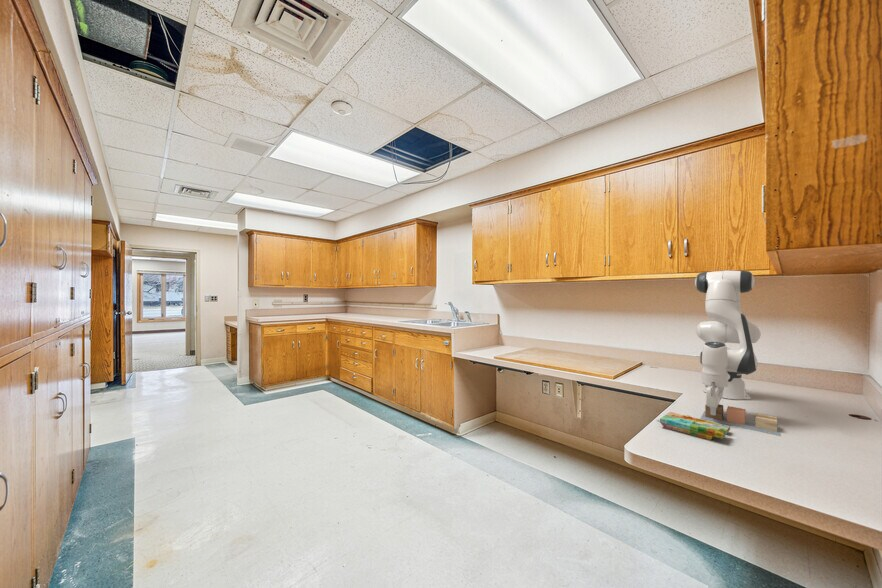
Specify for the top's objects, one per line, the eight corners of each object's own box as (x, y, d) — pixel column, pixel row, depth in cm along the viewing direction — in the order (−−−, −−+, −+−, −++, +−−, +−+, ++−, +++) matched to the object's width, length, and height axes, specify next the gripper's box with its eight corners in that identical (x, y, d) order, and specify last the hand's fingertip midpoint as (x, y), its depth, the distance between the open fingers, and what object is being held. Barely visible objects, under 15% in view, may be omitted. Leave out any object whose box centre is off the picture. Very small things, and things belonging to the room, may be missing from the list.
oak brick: (756, 423, 138) (756, 413, 138) (776, 427, 133) (776, 417, 133) (755, 427, 133) (755, 417, 133) (776, 431, 129) (777, 421, 129)
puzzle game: (669, 410, 144) (730, 424, 128) (669, 421, 144) (730, 436, 129) (659, 416, 136) (723, 432, 121) (659, 428, 136) (723, 445, 121)
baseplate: (704, 413, 151) (704, 411, 151) (780, 429, 135) (780, 426, 135) (699, 421, 142) (699, 419, 142) (780, 439, 125) (780, 436, 125)
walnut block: (707, 413, 149) (707, 402, 148) (723, 416, 145) (723, 405, 145) (705, 416, 145) (705, 405, 145) (721, 420, 141) (722, 408, 141)
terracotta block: (727, 417, 144) (727, 405, 144) (745, 421, 140) (745, 409, 140) (726, 421, 140) (726, 409, 140) (744, 424, 136) (744, 412, 136)
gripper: (721, 386, 135) (721, 421, 135) (726, 377, 150) (726, 408, 150) (701, 383, 139) (701, 417, 139) (708, 375, 154) (708, 405, 154)
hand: (714, 412), depth 145 cm, fingers closed on walnut block, 5 cm apart
